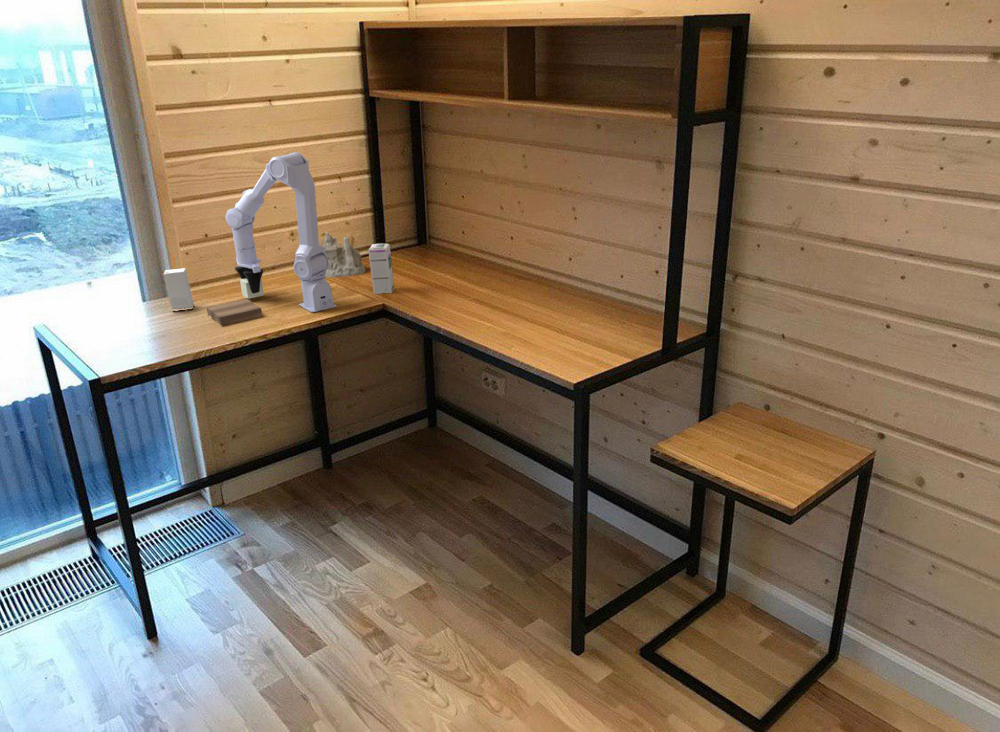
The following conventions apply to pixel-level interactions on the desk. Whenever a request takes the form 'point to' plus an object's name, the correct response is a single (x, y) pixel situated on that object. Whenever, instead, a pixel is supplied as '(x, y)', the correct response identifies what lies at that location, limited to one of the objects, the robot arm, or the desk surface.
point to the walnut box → (234, 311)
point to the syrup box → (381, 268)
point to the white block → (247, 291)
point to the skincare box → (178, 288)
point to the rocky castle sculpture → (342, 258)
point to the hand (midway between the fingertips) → (252, 290)
